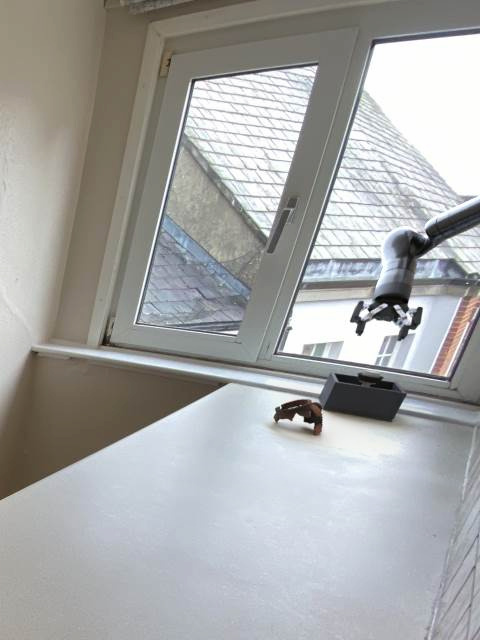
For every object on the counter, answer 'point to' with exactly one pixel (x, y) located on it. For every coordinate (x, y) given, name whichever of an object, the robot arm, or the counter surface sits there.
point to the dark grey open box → (361, 397)
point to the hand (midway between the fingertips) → (380, 336)
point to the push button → (369, 377)
